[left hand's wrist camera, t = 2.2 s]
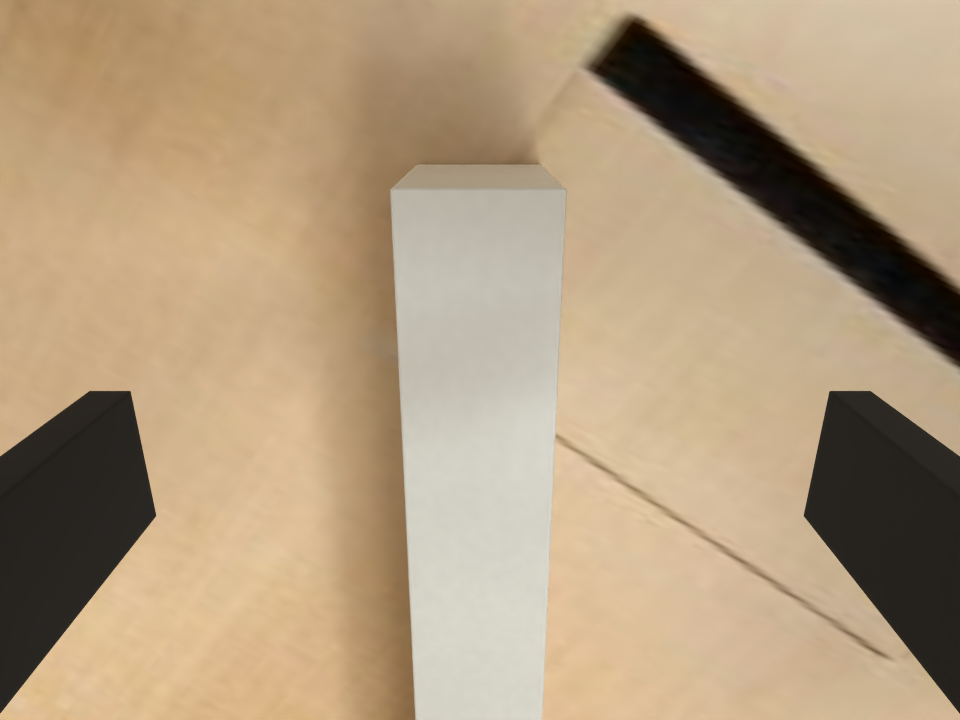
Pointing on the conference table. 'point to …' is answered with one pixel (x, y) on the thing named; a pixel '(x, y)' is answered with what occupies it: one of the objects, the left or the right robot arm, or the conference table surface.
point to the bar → (478, 428)
